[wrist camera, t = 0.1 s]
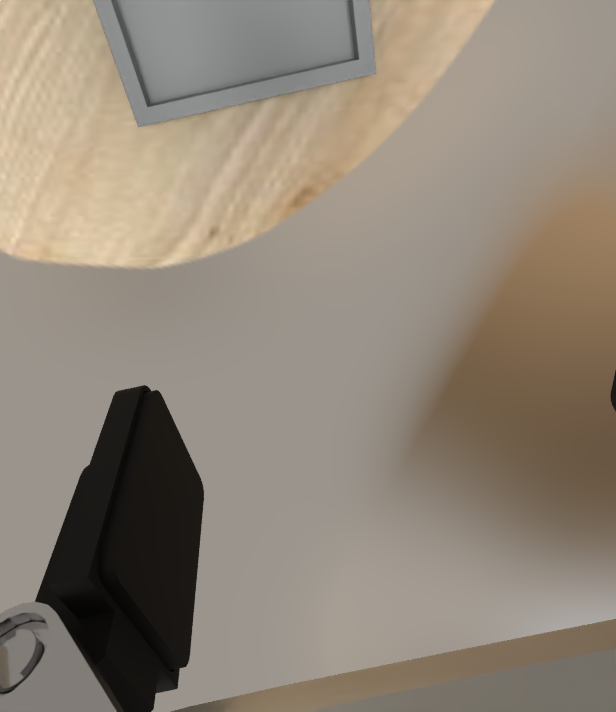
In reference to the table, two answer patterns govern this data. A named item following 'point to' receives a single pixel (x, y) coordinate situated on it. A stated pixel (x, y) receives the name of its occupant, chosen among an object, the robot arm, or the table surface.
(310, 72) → the tray
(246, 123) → the table surface
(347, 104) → the table surface
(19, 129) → the table surface
